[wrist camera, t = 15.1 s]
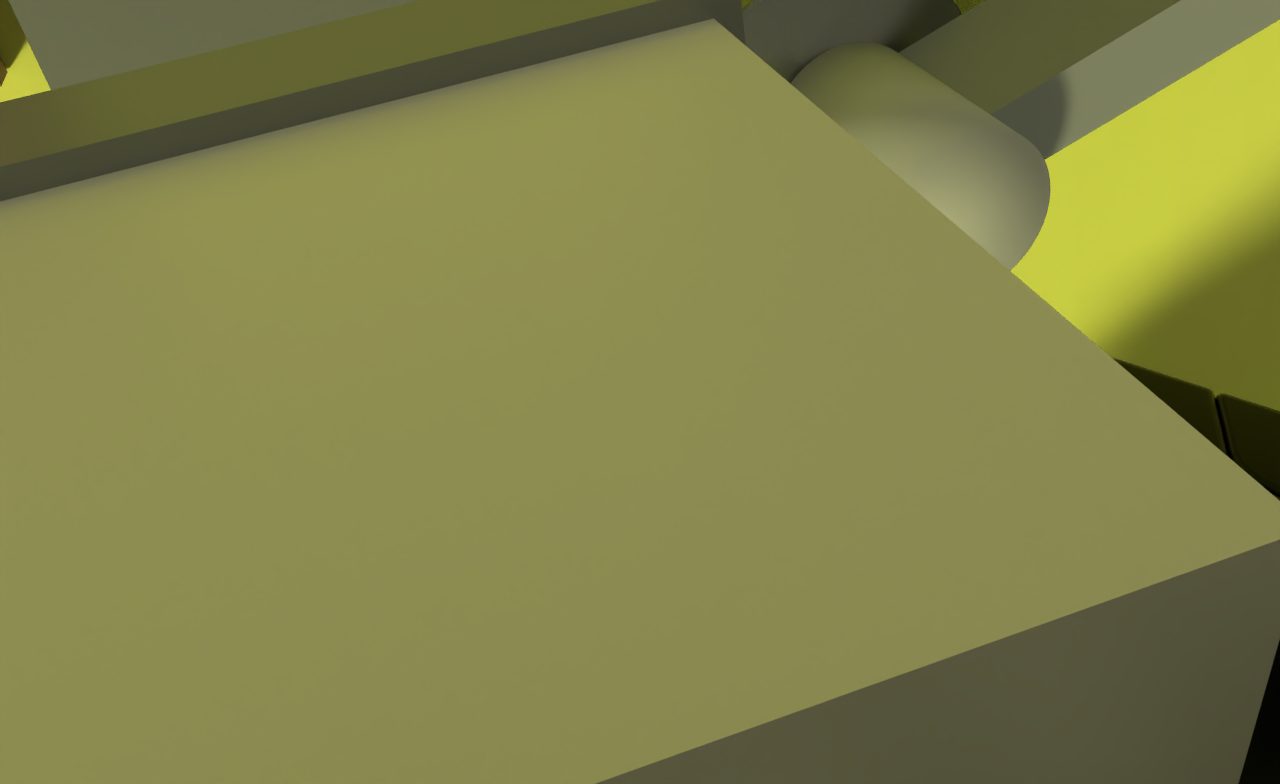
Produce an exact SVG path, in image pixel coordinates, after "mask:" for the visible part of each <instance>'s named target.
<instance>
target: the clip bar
mask: <svg viewBox="0 0 1280 784" xmlns="http://www.w3.org/2000/svg"><path fill="white" fill-rule="evenodd" d="M1279 19H1280V0H985V1H983V2H982V3H980V4H978V5H977V6H975V7H973V8H972V9H970V10H968V11H967V12H965V13H963V14H962V15H960V16H958V17H957V18H955V19H953V20H952V21H950V22H948V23H947V24H945V25H944V26H942V27H940V28H939V29H937V30H935V31H934V32H932V33H930V34H929V35H927V36H925V37H924V38H922V39H920V40H919V41H917V42H915V43H914V44H912V45H910V46H909V47H907V48H905V49H904V50H902V51H901V52H899V53H898V52H896V51H894V50H893V49H891V48H889V47H887V46H884V45H882V44H878V43H873V42H852V43H847V44H843V45H840V46H837V47H835V48H832V49H830V50H828V51H826V52H824V53H822V54H821V55H819V56H818V57H816V58H815V59H813V60H812V61H811V62H810V63H809V64H808V65H806V66H805V67H804V68H803V69H802V70H801V71H800V72H799V74H798V75H797V76H796V77H795V78H794V80H793V81H792V82H791V85H792V86H794V87H795V88H796V89H797V90H798V91H799V92H801V93H802V94H803V95H804V96H805V97H806V98H808V99H809V100H810V101H811V102H812V103H814V104H815V105H816V106H817V107H818V108H819V109H821V110H822V111H823V112H824V113H825V114H826V115H828V116H829V117H830V118H831V119H832V120H833V121H835V122H836V123H837V124H838V125H839V126H840V127H842V128H843V129H844V130H845V131H846V132H848V133H849V134H850V135H851V136H852V137H853V138H855V139H856V140H857V141H858V142H859V143H860V144H862V145H863V146H864V147H865V148H866V149H867V150H869V151H870V152H871V153H872V154H873V155H875V156H876V157H877V158H878V159H879V160H880V161H882V162H883V163H884V164H885V165H886V166H887V167H889V168H890V169H891V170H892V171H893V172H894V173H896V174H897V175H898V176H899V177H900V178H901V179H903V180H904V181H905V182H906V183H907V184H909V185H910V186H911V187H912V188H913V189H914V190H916V191H917V192H918V193H919V194H920V195H921V196H923V197H924V198H925V199H926V200H927V201H928V202H930V203H931V204H932V205H933V206H934V207H936V208H937V209H938V210H939V211H940V212H941V213H943V214H944V215H945V216H946V217H947V218H948V219H950V220H951V221H952V222H953V223H954V224H955V225H957V226H958V227H959V228H960V229H961V230H962V231H964V232H965V233H966V234H967V235H968V236H970V237H971V238H972V239H973V240H974V241H975V242H977V243H978V244H979V245H980V246H981V247H982V248H984V249H985V250H986V251H987V252H988V253H989V254H991V255H992V256H993V257H994V258H995V259H997V260H998V261H999V262H1000V263H1001V264H1002V265H1004V266H1005V267H1006V268H1007V269H1008V270H1009V271H1010V270H1011V269H1012V268H1013V267H1014V266H1015V265H1017V263H1018V262H1019V261H1020V260H1021V259H1022V258H1023V256H1024V255H1025V254H1026V253H1027V251H1028V250H1029V248H1030V247H1031V246H1032V244H1033V242H1034V241H1035V239H1036V237H1037V236H1038V234H1039V232H1040V229H1041V227H1042V225H1043V223H1044V220H1045V217H1046V214H1047V210H1048V205H1049V199H1050V178H1049V172H1048V169H1047V166H1046V163H1045V159H1046V158H1048V157H1050V156H1052V155H1053V154H1055V153H1057V152H1058V151H1060V150H1062V149H1063V148H1065V147H1067V146H1068V145H1070V144H1072V143H1073V142H1075V141H1077V140H1078V139H1080V138H1082V137H1083V136H1085V135H1087V134H1088V133H1090V132H1092V131H1093V130H1095V129H1097V128H1098V127H1100V126H1102V125H1103V124H1105V123H1107V122H1108V121H1110V120H1112V119H1114V118H1115V117H1117V116H1119V115H1120V114H1122V113H1124V112H1125V111H1127V110H1129V109H1130V108H1132V107H1134V106H1135V105H1137V104H1139V103H1140V102H1142V101H1144V100H1145V99H1147V98H1149V97H1150V96H1152V95H1154V94H1155V93H1157V92H1159V91H1160V90H1162V89H1164V88H1165V87H1167V86H1169V85H1170V84H1172V83H1174V82H1176V81H1177V80H1179V79H1181V78H1182V77H1184V76H1186V75H1187V74H1189V73H1191V72H1192V71H1194V70H1196V69H1197V68H1199V67H1201V66H1202V65H1204V64H1206V63H1207V62H1209V61H1211V60H1212V59H1214V58H1216V57H1217V56H1219V55H1221V54H1222V53H1224V52H1226V51H1227V50H1229V49H1231V48H1232V47H1234V46H1236V45H1237V44H1239V43H1241V42H1243V41H1244V40H1246V39H1248V38H1249V37H1251V36H1253V35H1254V34H1256V33H1258V32H1259V31H1261V30H1263V29H1264V28H1266V27H1268V26H1269V25H1271V24H1273V23H1274V22H1276V21H1278V20H1279Z"/></svg>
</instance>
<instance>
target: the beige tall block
mask: <svg viewBox="0 0 1280 784" xmlns="http://www.w3.org/2000/svg"><path fill="white" fill-rule="evenodd" d="M1279 640H1280V501H1279V500H1278V499H1277V498H1276V497H1275V496H1273V495H1272V494H1271V493H1270V492H1269V491H1267V490H1266V489H1265V488H1264V487H1263V486H1262V485H1260V484H1259V483H1258V482H1257V481H1256V480H1255V479H1253V478H1252V477H1251V476H1250V475H1249V474H1248V473H1246V472H1245V471H1244V470H1243V469H1242V468H1241V467H1239V466H1238V465H1237V464H1236V463H1235V462H1233V461H1232V460H1231V459H1230V458H1229V457H1228V456H1226V455H1225V454H1224V453H1223V452H1222V451H1221V450H1219V449H1218V448H1217V447H1216V446H1215V445H1214V444H1212V443H1211V442H1210V441H1209V440H1208V439H1206V438H1205V437H1204V436H1203V435H1202V434H1201V433H1199V432H1198V431H1197V430H1196V429H1195V428H1194V427H1192V426H1191V425H1190V424H1189V423H1188V422H1187V421H1185V420H1184V419H1183V418H1182V417H1181V416H1180V415H1178V414H1177V413H1176V412H1175V411H1174V410H1172V409H1171V408H1170V407H1169V406H1168V405H1167V404H1165V403H1164V402H1163V401H1162V400H1161V399H1160V398H1158V397H1157V396H1156V395H1155V394H1154V393H1153V392H1151V391H1150V390H1149V389H1148V388H1147V387H1145V386H1144V385H1143V384H1142V383H1141V382H1140V381H1138V380H1137V379H1136V378H1135V377H1134V376H1133V375H1131V374H1130V373H1129V372H1128V371H1127V370H1126V369H1124V368H1123V367H1122V366H1121V365H1120V364H1119V363H1117V362H1116V361H1115V360H1114V359H1113V358H1111V357H1110V356H1109V355H1108V354H1107V353H1106V352H1104V351H1103V350H1102V349H1101V348H1100V347H1099V346H1097V345H1096V344H1095V343H1094V342H1093V341H1092V340H1090V339H1089V338H1088V337H1087V336H1086V335H1084V334H1083V333H1082V332H1081V331H1080V330H1079V329H1077V328H1076V327H1075V326H1074V325H1073V324H1072V323H1070V322H1069V321H1068V320H1067V319H1066V318H1065V317H1063V316H1062V315H1061V314H1060V313H1059V312H1058V311H1056V310H1055V309H1054V308H1053V307H1052V306H1050V305H1049V304H1048V303H1047V302H1046V301H1045V300H1043V299H1042V298H1041V297H1040V296H1039V295H1038V294H1036V293H1035V292H1034V291H1033V290H1032V289H1031V288H1029V287H1028V286H1027V285H1026V284H1025V283H1023V282H1022V281H1021V280H1020V279H1019V278H1018V277H1016V276H1015V275H1014V274H1013V273H1012V272H1011V271H1009V270H1008V269H1007V268H1006V267H1005V266H1004V265H1002V264H1001V263H1000V262H999V261H998V260H997V259H995V258H994V257H993V256H992V255H991V254H989V253H988V252H987V251H986V250H985V249H984V248H982V247H981V246H980V245H979V244H978V243H977V242H975V241H974V240H973V239H972V238H971V237H970V236H968V235H967V234H966V233H965V232H964V231H962V230H961V229H960V228H959V227H958V226H957V225H955V224H954V223H953V222H952V221H951V220H950V219H948V218H947V217H946V216H945V215H944V214H943V213H941V212H940V211H939V210H938V209H937V208H936V207H934V206H933V205H932V204H931V203H930V202H928V201H927V200H926V199H925V198H924V197H923V196H921V195H920V194H919V193H918V192H917V191H916V190H914V189H913V188H912V187H911V186H910V185H909V184H907V183H906V182H905V181H904V180H903V179H901V178H900V177H899V176H898V175H897V174H896V173H894V172H893V171H892V170H891V169H890V168H889V167H887V166H886V165H885V164H884V163H883V162H882V161H880V160H879V159H878V158H877V157H876V156H875V155H873V154H872V153H871V152H870V151H869V150H867V149H866V148H865V147H864V146H863V145H862V144H860V143H859V142H858V141H857V140H856V139H855V138H853V137H852V136H851V135H850V134H849V133H848V132H846V131H845V130H844V129H843V128H842V127H840V126H839V125H838V124H837V123H836V122H835V121H833V120H832V119H831V118H830V117H829V116H828V115H826V114H825V113H824V112H823V111H822V110H821V109H819V108H818V107H817V106H816V105H815V104H814V103H812V102H811V101H810V100H809V99H808V98H806V97H805V96H804V95H803V94H802V93H801V92H799V91H798V90H797V89H796V88H795V87H794V86H792V85H791V84H790V83H789V82H788V81H787V80H785V79H784V78H783V77H782V76H781V75H779V74H778V73H777V72H776V71H775V70H774V69H772V68H771V67H770V66H769V65H768V64H767V63H765V62H764V61H763V60H762V59H761V58H760V57H758V56H757V55H756V54H755V53H754V52H753V51H751V50H750V49H749V48H748V47H747V46H746V45H745V35H744V24H743V13H742V2H741V0H419V1H415V2H410V3H406V4H402V5H398V6H394V7H390V8H386V9H382V10H378V11H374V12H369V13H365V14H361V15H357V16H353V17H349V18H345V19H341V20H337V21H333V22H329V23H324V24H320V25H316V26H312V27H308V28H304V29H300V30H296V31H292V32H288V33H283V34H279V35H275V36H271V37H267V38H263V39H259V40H255V41H251V42H247V43H243V44H238V45H234V46H230V47H226V48H222V49H218V50H214V51H210V52H206V53H202V54H197V55H193V56H189V57H185V58H181V59H177V60H173V61H169V62H165V63H161V64H156V65H152V66H148V67H144V68H140V69H136V70H132V71H128V72H124V73H120V74H116V75H111V76H107V77H103V78H99V79H95V80H91V81H87V82H83V83H79V84H75V85H70V86H66V87H62V88H58V89H54V90H50V91H46V92H42V93H38V94H34V95H30V96H25V97H21V98H17V99H13V100H9V101H5V102H1V103H0V784H1238V783H1239V780H1240V776H1241V773H1242V769H1243V766H1244V762H1245V759H1246V755H1247V752H1248V748H1249V745H1250V741H1251V738H1252V734H1253V731H1254V727H1255V724H1256V720H1257V717H1258V713H1259V710H1260V706H1261V703H1262V699H1263V696H1264V692H1265V689H1266V685H1267V682H1268V678H1269V675H1270V671H1271V668H1272V664H1273V661H1274V657H1275V654H1276V650H1277V647H1278V643H1279Z"/></svg>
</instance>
